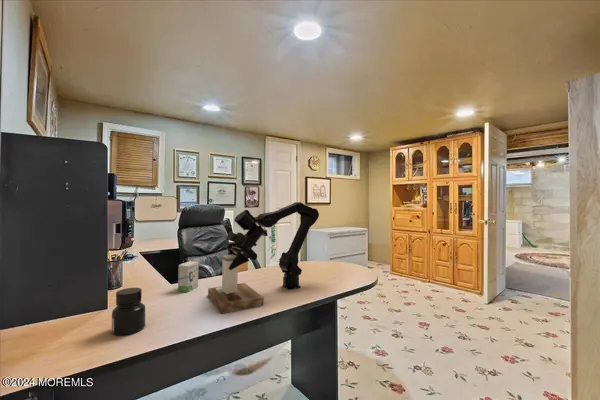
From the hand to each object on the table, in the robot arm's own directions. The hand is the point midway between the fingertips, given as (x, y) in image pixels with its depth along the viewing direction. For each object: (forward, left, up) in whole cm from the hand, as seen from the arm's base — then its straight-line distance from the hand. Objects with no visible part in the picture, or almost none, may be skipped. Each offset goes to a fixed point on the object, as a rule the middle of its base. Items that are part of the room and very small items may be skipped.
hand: (226, 268), depth 111 cm
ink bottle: (+33, +8, -14) cm, 36 cm away
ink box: (+11, -25, -14) cm, 30 cm away
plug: (-1, -1, -9) cm, 10 cm away
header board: (-3, -1, -13) cm, 14 cm away
